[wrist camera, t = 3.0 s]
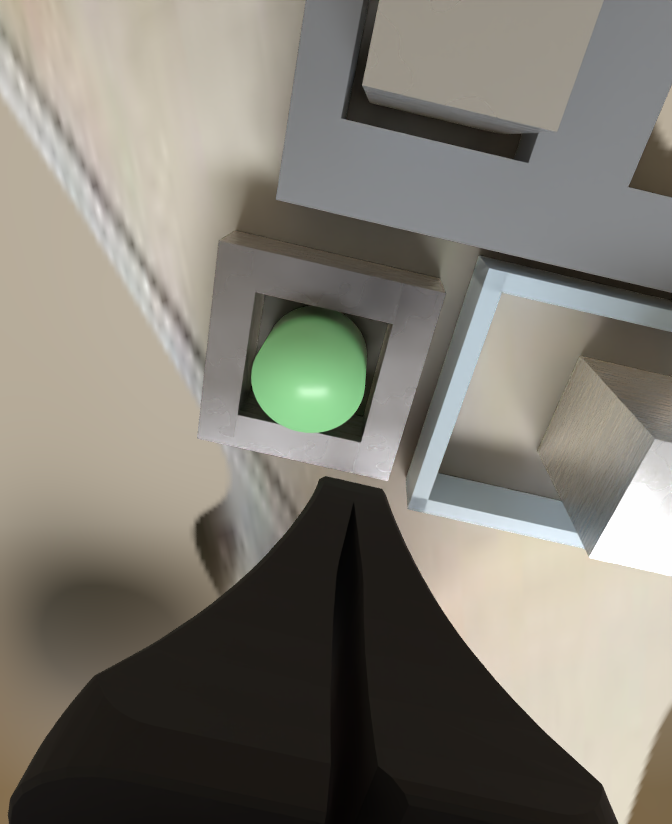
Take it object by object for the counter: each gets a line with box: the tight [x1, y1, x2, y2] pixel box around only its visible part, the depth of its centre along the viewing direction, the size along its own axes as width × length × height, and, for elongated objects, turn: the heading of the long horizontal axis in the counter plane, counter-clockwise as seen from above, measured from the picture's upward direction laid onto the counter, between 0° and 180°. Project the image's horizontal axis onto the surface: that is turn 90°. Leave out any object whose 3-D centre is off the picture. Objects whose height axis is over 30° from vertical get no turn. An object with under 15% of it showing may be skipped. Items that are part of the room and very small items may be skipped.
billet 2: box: [537, 356, 672, 576], centre depth 17 cm, size 4×4×6 cm
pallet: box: [276, 0, 672, 293], centre depth 15 cm, size 16×10×2 cm, turn 78°
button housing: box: [197, 231, 446, 481], centre depth 19 cm, size 7×7×2 cm
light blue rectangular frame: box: [406, 255, 672, 549], centre depth 19 cm, size 13×9×2 cm
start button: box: [251, 306, 367, 433], centre depth 18 cm, size 4×4×2 cm
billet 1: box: [362, 0, 604, 134], centre depth 13 cm, size 4×4×6 cm
